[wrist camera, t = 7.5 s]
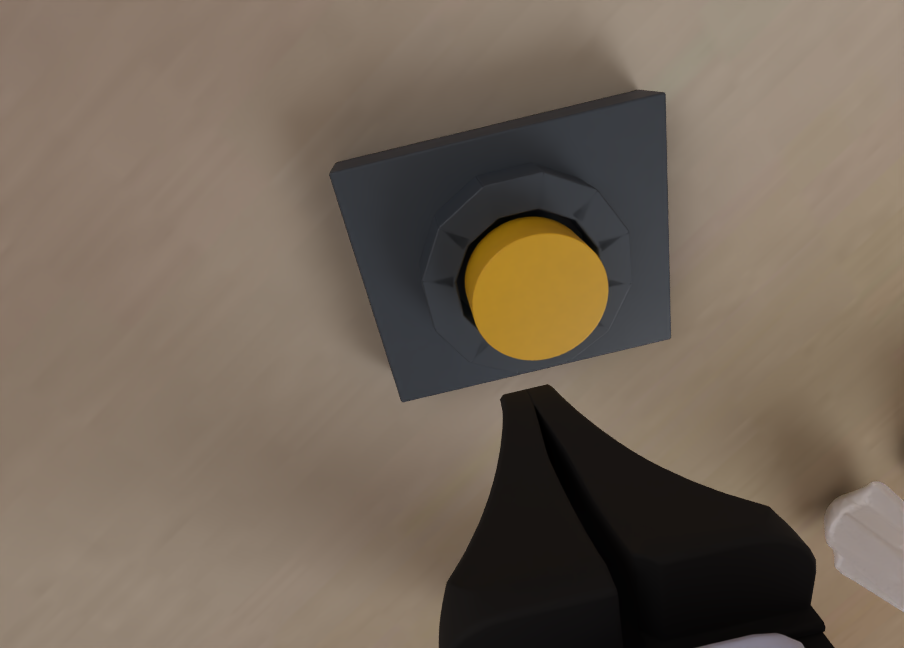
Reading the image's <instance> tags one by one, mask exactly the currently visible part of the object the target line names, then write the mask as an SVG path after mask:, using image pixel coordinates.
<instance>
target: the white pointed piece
mask: <svg viewBox="0 0 904 648" xmlns="http://www.w3.org/2000/svg"><path fill="white" fill-rule="evenodd" d="M824 530H825V538H826V541H827V544H828V545H829V547H831V548H832V549H833V552H834V565H835V568H836V569H837V570H838V571H839V572H840V573H841V574H843V575H844V576H846V577H848V578H850V579H851V580H853V581H855V582H857V583H858V584H860V585H861V586H863V587H864V588H866V589H867V590H869V591H871V592H873V593H874V594H876V595H877V596H879V597H881V598H882V599H883V600H885V601H887V602H888V603H890V604H891V605H893V606H895V607H896V608H898V609H899V610H901V611H903V612H904V501H903V500H902V499H901V498H900V497H899V496H898V495H897V494H896V493H894V492H893V491H892V490H891V489H890V488H889V487H888V486H887V485H885V484H884V483H883V482H879V481H873V482H871V483H869V484H867V485H866V486H864V487H862V488H860V489H857V490H855V491H853V492H850V493H847V494H843V495H841V496H839V497H837V498H836V499H835V500H833V501H832V502H831V503H830V505H829V506H828V508H827V509H826V513H825V516H824Z"/></svg>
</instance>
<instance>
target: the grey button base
mask: <svg viewBox="0 0 904 648" xmlns="http://www.w3.org/2000/svg"><path fill="white" fill-rule="evenodd" d="M329 176H330V179H331V182H332V185H333V188H334V191H335V194H336V198H337V201H338V204H339V207H340V210H341V213H342V216H343V220H344V223H345V226H346V229H347V232H348V235H349V239H350V242H351V245H352V248H353V251H354V254H355V257H356V261H357V264H358V267H359V270H360V273H361V276H362V279H363V283H364V286H365V289H366V292H367V295H368V298H369V302H370V305H371V308H372V311H373V314H374V317H375V320H376V324H377V327H378V330H379V333H380V336H381V339H382V342H383V346H384V349H385V352H386V355H387V358H388V361H389V364H390V368H391V371H392V374H393V377H394V380H395V383H396V387H397V390H398V393H399V396H400V399H401V401H402V402H406V401H410V400H415V399H419V398H423V397H427V396H432V395H436V394H440V393H444V392H448V391H453V390H457V389H461V388H465V387H469V386H474V385H478V384H482V383H486V382H490V381H495V380H499V379H503V378H507V377H512V376H516V375H520V374H524V373H528V372H533V371H537V370H541V369H545V368H549V367H554V366H558V365H562V364H566V363H570V362H575V361H579V360H583V359H587V358H592V357H596V356H600V355H604V354H608V353H613V352H617V351H621V350H625V349H629V348H634V347H638V346H642V345H646V344H650V343H655V342H659V341H663V340H667V339H670V338H671V316H670V272H669V228H668V184H667V140H666V96H665V93H664V92H655V91H646V90H635V91H631V92H627V93H623V94H619V95H615V96H610V97H606V98H602V99H598V100H594V101H590V102H585V103H581V104H577V105H573V106H569V107H565V108H561V109H556V110H552V111H548V112H544V113H540V114H536V115H532V116H527V117H523V118H519V119H515V120H511V121H507V122H502V123H498V124H494V125H490V126H486V127H482V128H478V129H473V130H469V131H465V132H461V133H457V134H453V135H448V136H444V137H440V138H436V139H432V140H428V141H424V142H419V143H415V144H411V145H407V146H403V147H399V148H395V149H390V150H386V151H382V152H378V153H374V154H370V155H365V156H361V157H357V158H353V159H349V160H345V161H341V162H337V163H335V165H334V167H333V168H332V170H331V172H330V174H329ZM533 216H536V217H545V218H549V219H552V220H555V221H558V222H560V223H562V224H563V225H565V226H567V227H568V228H569V229H571V230H572V231H573V232H574V233H575V234H576V235H577V236H578V237H579V238H580V239H582V240H583V241H584V242H585V243H586V244H587V245H588V246H589V247H590V248H591V249H592V250H593V251H594V252H595V253H596V254H597V256H598V257H599V259H600V260H601V262H602V264H603V266H604V268H605V271H606V274H607V279H608V300H607V304H606V308H605V311H604V313H603V316H602V318H601V320H600V321H599V323H598V325H597V326H596V328H595V329H594V330H593V332H592V333H591V334H590V335H589V336H588V337H587V338H586V339H585V340H584V341H583V342H582V343H580V344H579V345H578V346H576V347H575V348H573V349H571V350H570V351H568V352H566V353H564V354H561V355H559V356H556V357H553V358H549V359H543V360H521V359H516V358H513V357H509V356H507V355H505V354H503V353H501V352H499V351H497V350H496V349H494V348H493V347H492V346H491V345H489V344H488V343H487V342H486V340H485V339H484V338H483V337H482V335H481V334H480V332H479V331H478V328H477V326H476V324H475V321H474V318H473V315H472V312H471V308H470V305H469V302H468V299H467V295H466V291H465V272H466V268H467V264H468V261H469V259H470V256H471V254H472V252H473V251H474V249H475V247H476V246H477V245H478V243H479V242H480V241H481V240H482V239H483V238H484V237H485V236H486V235H487V234H488V233H489V232H491V231H492V230H493V229H495V228H496V227H498V226H499V225H501V224H503V223H506V222H508V221H510V220H514V219H517V218H522V217H533Z"/></svg>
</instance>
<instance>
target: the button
mask: <svg viewBox="0 0 904 648" xmlns="http://www.w3.org/2000/svg"><path fill="white" fill-rule="evenodd" d="M465 291H466V295H467V299H468V302H469V305H470V308H471V312H472V315H473V318H474V321H475V324H476V326H477V328H478V331H479V332H480V334H481V335H482V337H483V338H484V339H485V340H486V342H487V343H488V344H489V345H491V346H492V347H493V348H494V349H496V350H497V351H499V352H501V353H503V354H505V355H507V356H509V357H513V358H516V359H521V360H543V359H549V358H553V357H556V356H559V355H561V354H564V353H566V352H568V351H570V350H571V349H573V348H575V347H576V346H578V345H579V344H580V343H582V342H583V341H584V340H585V339H586V338H587V337H588V336H589V335H590V334H591V333H592V332H593V330H594V329H595V328H596V326H597V325H598V323H599V321H600V320H601V318H602V316H603V313H604V311H605V308H606V304H607V300H608V279H607V274H606V271H605V268H604V266H603V264H602V262H601V260H600V259H599V257H598V256H597V254H596V253H595V252H594V251H593V250H592V249H591V248H590V247H589V246H588V245H587V244H586V243H585V242H584V241H583V240H582V239H580V238H579V237H578V236H577V235H576V234H575V233H574V232H573V231H572V230H571V229H569V228H568V227H567V226H565V225H563V224H562V223H560V222H558V221H555V220H552V219H549V218H545V217H536V216H533V217H522V218H517V219H514V220H510V221H508V222H506V223H503V224H501V225H499V226H498V227H496V228H495V229H493V230H492V231H491V232H489V233H488V234H487V235H486V236H485V237H484V238H483V239H482V240H481V241H480V242H479V243H478V245H477V246H476V247H475V249H474V251H473V252H472V254H471V256H470V259H469V261H468V264H467V268H466V272H465Z"/></svg>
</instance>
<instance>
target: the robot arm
mask: <svg viewBox="0 0 904 648" xmlns="http://www.w3.org/2000/svg"><path fill="white" fill-rule="evenodd" d="M500 401H501V406H502V411H503V429H502V439H501V448H500V453H499V459H498V464H497V469H496V473H495V477H494V481H493V485H492V488H491V492H490V495H489V498H488V501H487V503H486V506H485V509H484V512H483V514H482V517H481V519H480V522H479V524H478V526H477V529H476V531H475V533H474V535H473V537H472V539H471V541H470V543H469V545H468V547H467V549H466V551H465V553H464V555H463V557H462V558H461V560H460V562H459V563H458V565H457V567H456V568H455V570H454V571H453V573H452V575H451V576H450V578H449V580H448V581H447V584H446V588H445V593H444V598H443V604H442V610H441V617H440V626H439V648H834V647H833V645H832V644H831V643H830V641H829V640H828V639H827V637H826V636H825V635H824V633H823V632H824V631H825V625H824V622H823V620H822V619H821V618H820V617H819V615H818V614H817V613H816V611H815V610H814V609H813V608H812V606H811V599H812V593H813V587H814V581H815V575H816V559H815V557H814V555H813V553H812V552H811V550H810V548H809V547H808V546H807V545H806V544H805V543H804V541H803V540H802V539H801V538H800V537H799V536H798V534H797V533H796V532H795V531H794V530H793V529H792V528H791V527H790V526H789V525H788V524H787V523H786V522H785V521H784V520H783V519H782V518H781V517H779V516H778V515H777V514H776V513H775V512H774V511H773V510H772V509H771V508H770V507H769V506H766V505H762V504H759V503H755V502H752V501H749V500H745V499H742V498H739V497H735V496H732V495H729V494H725V493H723V492H720V491H717V490H714V489H712V488H709V487H706V486H704V485H701V484H698V483H696V482H693V481H691V480H689V479H686V478H684V477H682V476H680V475H677V474H675V473H673V472H671V471H669V470H667V469H664V468H662V467H660V466H658V465H656V464H654V463H652V462H650V461H649V460H647V459H645V458H643V457H642V456H640V455H638V454H637V453H635V452H633V451H632V450H630V449H628V448H627V447H625V446H624V445H622V444H621V443H619V442H618V441H616V440H615V439H613V438H612V437H611V436H609V435H608V434H606V433H605V432H604V431H602V430H601V429H599V428H598V427H597V426H596V425H594V424H593V423H592V422H591V421H589V420H588V419H587V418H586V417H584V416H583V415H582V414H581V413H579V412H578V411H577V410H576V409H575V408H574V407H573V406H571V405H570V404H569V403H568V402H567V401H566V400H565V399H564V398H563V397H562V396H561V395H560V394H559V393H558V392H557V391H556V390H555V389H554V388H553V387H551V386H550V385H548V384H547V385H543V386H538V387H534V388H530V389H525V390H521V391H517V392H513V393H508V394H504V395H503V396H502V397H501V399H500Z"/></svg>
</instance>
